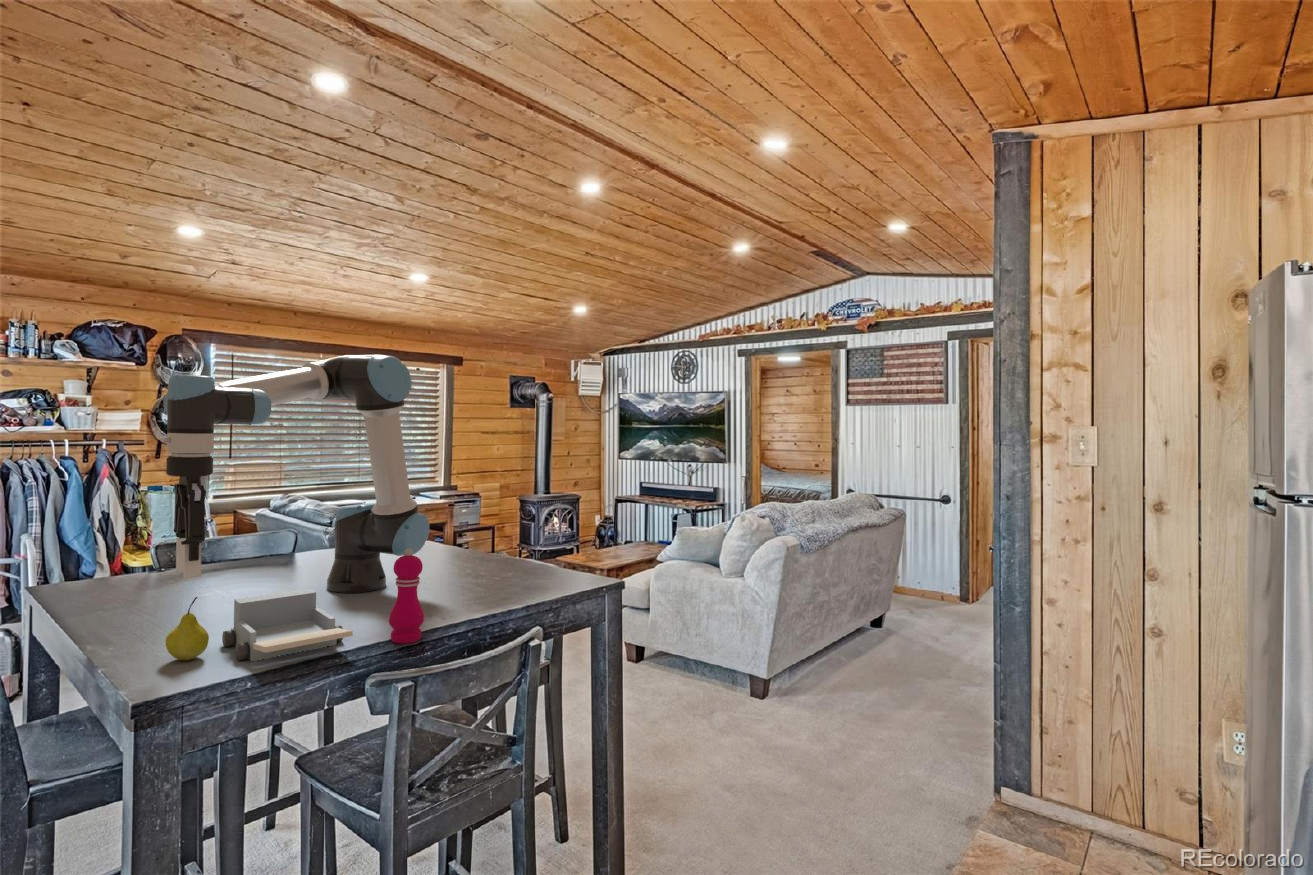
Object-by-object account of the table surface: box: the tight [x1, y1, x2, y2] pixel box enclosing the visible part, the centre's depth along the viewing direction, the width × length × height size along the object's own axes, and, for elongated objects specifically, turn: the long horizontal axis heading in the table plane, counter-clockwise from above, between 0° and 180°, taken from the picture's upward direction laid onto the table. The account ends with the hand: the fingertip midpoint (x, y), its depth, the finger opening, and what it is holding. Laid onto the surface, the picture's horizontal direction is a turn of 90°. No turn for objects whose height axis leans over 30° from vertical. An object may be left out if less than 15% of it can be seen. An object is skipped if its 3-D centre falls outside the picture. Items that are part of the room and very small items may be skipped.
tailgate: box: [253, 628, 354, 653], centre depth 139 cm, size 1×16×8 cm
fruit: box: [164, 596, 210, 661], centre depth 136 cm, size 7×7×12 cm
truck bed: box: [221, 588, 344, 663], centre depth 147 cm, size 15×20×9 cm
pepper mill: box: [388, 548, 425, 644], centre depth 153 cm, size 7×7×20 cm
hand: (188, 573), depth 136 cm, fingers open, 6 cm apart
